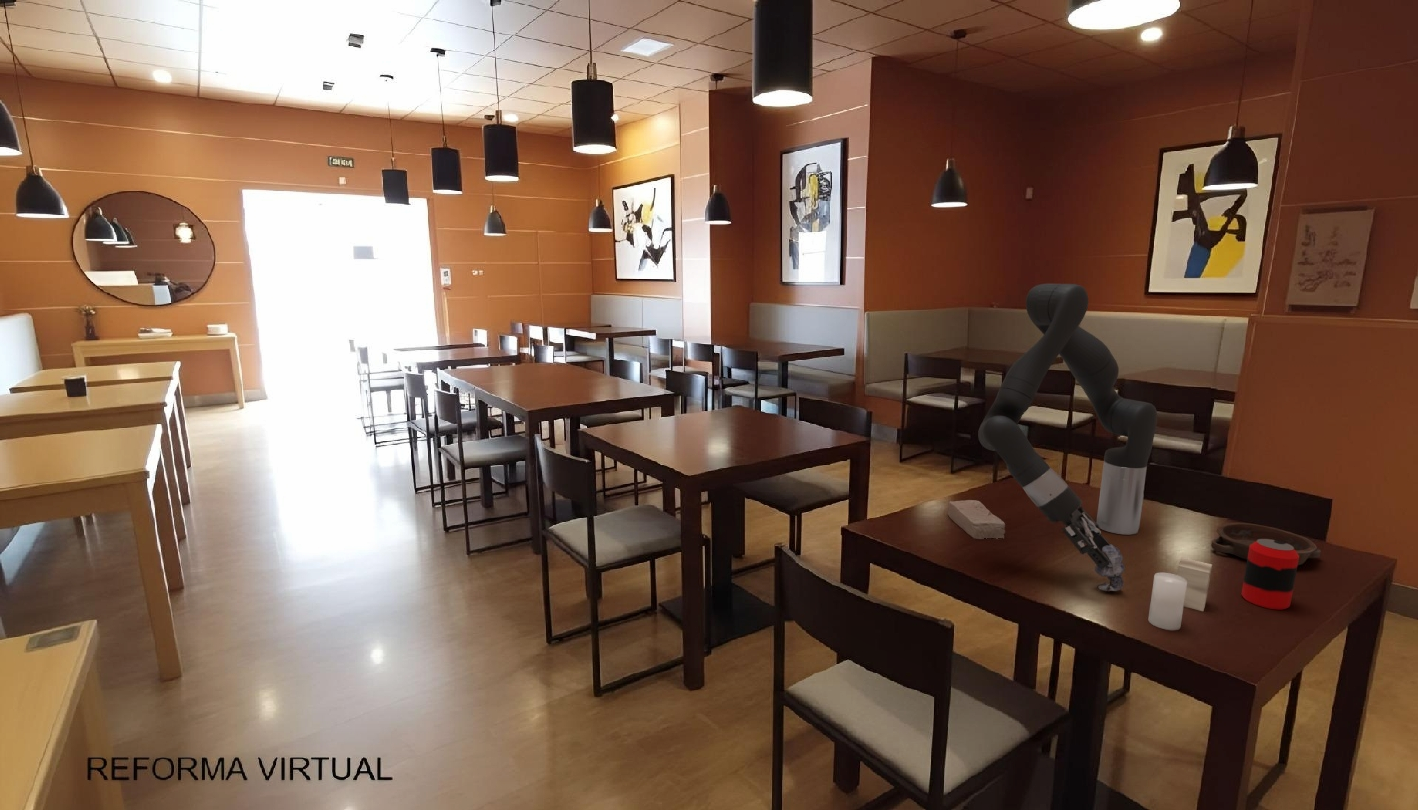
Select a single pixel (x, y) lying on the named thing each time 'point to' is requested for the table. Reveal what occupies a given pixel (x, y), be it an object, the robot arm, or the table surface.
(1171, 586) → the ceramic cylinder
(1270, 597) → the soda can
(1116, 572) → the fossil stone
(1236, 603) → the table surface
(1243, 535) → the dish
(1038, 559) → the table surface
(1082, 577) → the table surface
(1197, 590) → the birch block
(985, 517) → the brick
